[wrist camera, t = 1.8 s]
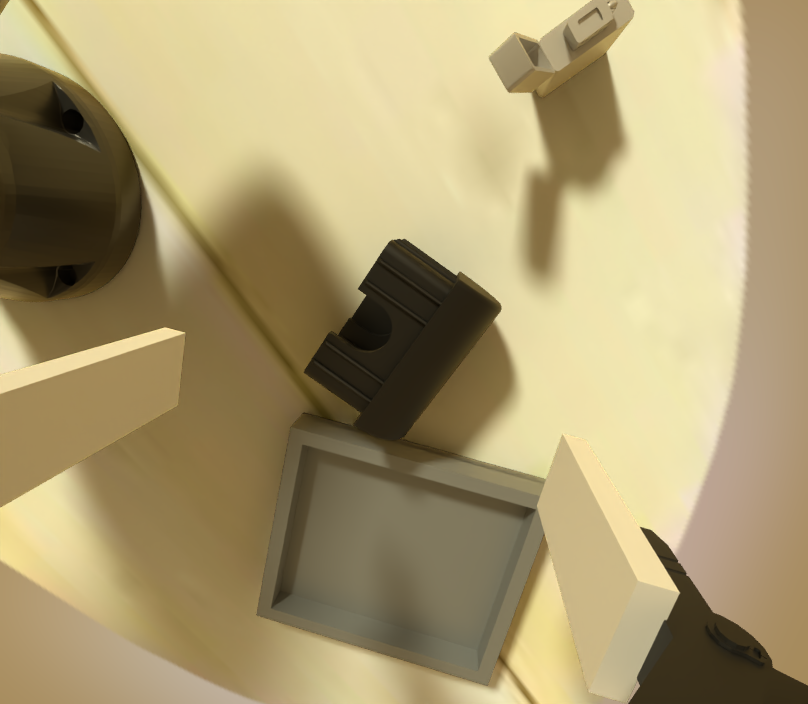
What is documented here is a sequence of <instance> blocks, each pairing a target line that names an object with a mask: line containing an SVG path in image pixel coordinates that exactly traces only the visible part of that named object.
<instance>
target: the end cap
mask: <svg viewBox="0 0 808 704" xmlns="http://www.w3.org/2000/svg"><path fill="white" fill-rule="evenodd" d="M358 289H359V290H360V291H361V292H363V293H364V294H366V297H365V298H364V300H363V301H362V303H361V304H360V306H359V307H358V309H357V310H356V312H355V313H354V315H353V316H352V318H349V319H348V321H347V322H346V324H345V325H344V327H343V328H342V330H341V331H340V333H339V334H338V335H337V334H335V333H334V332H332V331H331V332H329V334H328V335H327V337H326V338H325V340H324V341H323V343H322V344H321V346H320V347H319V349H318V350H317V352H316V354H315V355H314V357H313V358H312V360H311V361H310V363H309V364H308V366H307V367H306V369H305V371H304V373H305V374H307V375H308V376H309V377H311V378H312V379H314V380H315V381H317V382H318V383H319V384H321V385H322V386H324V387H325V388H327V389H328V390H329V391H331V392H332V393H334V394H335V395H337V396H338V397H340V398H341V399H342V400H344V401H345V402H347V403H348V404H350V405H351V406H352V407H354V408H355V409H357V410H358V411H360V412H361V413H360V415H359V417H358V418H357V420H356V422H355V423H354V426H356V427H357V428H359V429H360V430H362V431H364V432H366V433H368V434H370V435H372V436H375V437H377V438H381V439H385V440H397V439H400V438H402V437H403V436H405V435H406V433H407V432H408V431H409V429H410V428H411V427H412V425H413V424H414V423H415V422H416V420H417V419H418V418H419V416H420V415H421V414H422V413H423V411H424V410H425V409H426V407H427V406H428V405H429V403H430V402H431V401H432V400H433V398H434V397H435V396H436V394H437V393H438V392H439V390H440V389H441V388H442V387H443V385H444V384H445V383H446V381H447V380H448V379H449V377H450V376H451V375H452V374H453V372H454V371H455V370H456V368H457V367H458V366H459V365H460V363H461V362H462V361H463V359H464V358H465V357H466V355H467V354H468V353H469V352H470V350H471V349H472V348H473V346H474V345H475V344H476V342H477V341H478V340H479V339H480V337H481V336H482V335H483V333H484V332H485V331H486V329H487V328H488V327H489V326H490V324H491V323H492V322H493V320H494V319H495V318H496V316H497V315H498V314H499V313H500V311H501V304H500V303H499V302H498V301H497V300H496V299H495V298H494V297H493V296H492V295H490V294H489V293H488V292H487V291H485V290H484V289H483V288H482V287H480V286H479V285H478V284H476V283H475V282H474V281H473V280H471V279H470V278H469V277H467V276H466V275H464V274H463V273H462V272H459V273H458V275H457V276H456V275H455V274H453V273H452V272H450V271H449V270H448V269H446V268H445V267H443V266H442V265H441V264H439V263H438V262H436V261H435V260H434V259H432V258H431V257H429V256H428V255H427V254H425V253H424V252H423V251H421V250H420V249H418V248H417V247H416V246H414V245H413V244H411V243H410V242H409V241H407V240H406V239H403V240H401V239H397V240H391V241H390V242H389V243H388V244H387V246H386V247H385V248H384V250H383V251H382V253H381V254H380V256H379V257H378V259H377V261H376V262H375V264H374V265H373V267H372V268H371V270H370V271H369V273H368V274H367V276H366V277H365V279H364V280H363V282H362V283H361V285H360V286H359V288H358Z"/></svg>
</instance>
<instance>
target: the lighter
mask: <svg viewBox="0 0 808 704" xmlns="http://www.w3.org/2000/svg"><path fill="white" fill-rule="evenodd" d="M633 15H634V10H633V9H632V7H631V5H630V3H629V1H628V0H592V1H590V2H589V3H588V4H586V5H585V6H584V7H582V8H581V9H580V10H578V11H577V12H575V13H574V14H573V15H571V16H570V17H569V18H567V19H566V20H565V21H563V22H562V23H561V24H559V25H558V26H557V27H555V28H554V29H553V30H551V31H550V32H549V33H547V34H546V35H545V36H543V37H542V38H541V39H540V42H538V41H537V40H535V39H533V38H530V37H527V36H524V35H521V34H518V33H516V32H514V33H513V34H512V35H511V36H510V37H509V38H508V39H507V40H506V41H505V42H504V43H502V44H501V45H500V46H499V47H498V48H497V49H496V50H495V51H494V52H493V53H492V54H491V55H490V56H489V60H490V62H491V63H492V65H493V67H494V69H495V70H496V72H497V74H498V76H499V77H500V79H501V81H502V83H503V84H504V86H505V88H506V89H507V91H508V92H509V93H532V92H533V91H534V90H536V92H537V94H538V96H539V97H543V98H544V97H545V96H546V95H548V94H549V93H551V92H552V91H553V90H555V89H556V88H558V87H559V86H560V85H562V84H563V83H565V82H566V81H567V80H569V79H570V78H572V77H573V76H575V75H576V74H577V73H579V72H580V71H582V70H583V69H584V68H586V67H587V66H589V65H590V64H591V63H593V62H594V61H596V60H597V59H598V58H600V57H601V56H603V55H604V54H605V53H606V52H607V50H608V49H609V48H610V47H611V45H612V44H613V43H614V41H615V40H616V39H617V38H618V36H619V35H620V34H621V32H622V31H623V30H624V29H625V27H626V26H627V25H628V24H629V22H630V21H631V20H632V18H633Z"/></svg>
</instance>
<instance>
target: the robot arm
mask: <svg viewBox="0 0 808 704" xmlns="http://www.w3.org/2000/svg"><path fill="white" fill-rule="evenodd" d="M8 2H9V0H0V14H1V13H2V11H3V9H4V8H5V6H6V5H7V3H8ZM140 216H141V194H140V185H139V179H138V174H137V170H136V167H135V163H134V160H133V157H132V154H131V152H130V149H129V147H128V145H127V142H126V140H125V138H124V136H123V134H122V133H121V131H120V129H119V128H118V126H117V124H116V123H115V121H114V120H113V118H112V117H111V116H110V115H109V113H108V112H107V111H106V109H105V108H104V107H103V106H102V105H101V104H100V103H99V102H98V101H97V100H96V99H95V98H94V97H93V96H92V95H91V94H90V93H89V92H88V91H86V90H85V89H84V88H83V87H81V86H80V85H78V84H77V83H75V82H74V81H72V80H71V79H69V78H67V77H65V76H63V75H61V74H59V73H57V72H55V71H52V70H50V69H47V68H45V67H42V66H40V65H38V64H35V63H33V62H30V61H27V60H25V59H22V58H18V57H15V56H11V55H6V54H1V53H0V298H5V299H11V300H16V301H24V302H46V301H54V300H61V299H68V298H74V297H79V296H82V295H86V294H88V293H91V292H93V291H95V290H97V289H99V288H100V287H102V286H103V285H105V284H106V283H107V282H109V281H110V280H111V279H112V278H113V277H114V276H115V275H116V274H117V273H118V272H119V271H120V269H121V268H122V267H123V265H124V264H125V262H126V261H127V259H128V257H129V255H130V253H131V251H132V249H133V247H134V244H135V241H136V238H137V234H138V229H139V224H140ZM185 336H186V333H185V332H181V331H177V330H173V329H170V328H166V327H165V328H161V329H158V330H154V331H151V332H147V333H144V334H140V335H137V336H133V337H130V338H126V339H123V340H119V341H116V342H112V343H109V344H105V345H102V346H98V347H95V348H91V349H88V350H84V351H81V352H78V353H74V354H71V355H67V356H64V357H60V358H57V359H53V360H50V361H46V362H43V363H39V364H36V365H32V366H29V367H25V368H22V369H18V370H15V371H11V372H8V373H4V374H1V375H0V507H2V506H4V505H5V504H7V503H9V502H11V501H12V500H14V499H16V498H18V497H19V496H21V495H23V494H25V493H26V492H28V491H30V490H32V489H33V488H35V487H37V486H39V485H40V484H42V483H44V482H46V481H47V480H49V479H51V478H53V477H54V476H56V475H58V474H60V473H61V472H63V471H65V470H66V469H68V468H70V467H72V466H73V465H75V464H77V463H79V462H80V461H82V460H84V459H86V458H87V457H89V456H91V455H93V454H94V453H96V452H98V451H100V450H101V449H103V448H105V447H107V446H108V445H110V444H112V443H114V442H115V441H117V440H119V439H121V438H122V437H124V436H126V435H127V434H129V433H131V432H133V431H134V430H136V429H138V428H140V427H141V426H143V425H145V424H147V423H148V422H150V421H152V420H154V419H155V418H157V417H159V416H161V415H162V414H164V413H166V412H168V411H169V410H171V409H173V408H175V407H176V406H178V401H179V392H180V383H181V373H182V364H183V355H184V346H185ZM537 508H538V512H539V515H540V519H541V523H542V526H543V530H544V534H545V537H546V541H547V544H548V548H549V552H550V555H551V559H552V563H553V566H554V570H555V573H556V577H557V581H558V584H559V588H560V592H561V595H562V599H563V602H564V606H565V610H566V613H567V617H568V621H569V624H570V628H571V631H572V635H573V639H574V642H575V646H576V650H577V653H578V657H579V661H580V664H581V668H582V671H583V675H584V679H585V682H586V686H587V690H588V692H589V693H592V694H596V695H599V696H602V697H606V698H609V699H613V700H615V701H619V702H622V703H625V704H627V702H628V700H629V697H630V695H631V693H632V691H633V689H634V687H635V685H636V683H637V681H638V682H639V684H640V687H639V689H638V690H637V692H636V693H635V694H634V696H633V698H632V699H631V700H630V702H629V703H628V704H808V686H807V685H806V684H804V683H801V682H799V681H798V680H795V679H793V678H791V677H789V676H787V675H785V674H783V673H781V672H779V671H777V670H776V669H774V668H773V666H772V660H771V658H770V657H769V655H768V653H767V652H766V650H765V649H764V648H763V646H762V645H761V644H760V643H759V642H758V641H757V640H755V638H754V637H753V636H752V635H750V634H749V633H748V632H746V631H745V630H744V629H742V628H741V627H740V626H739V625H737V624H735V623H734V622H732V621H730V620H728V619H726V618H724V617H723V616H721V615H718V614H715V613H713V612H712V610H711V609H710V607H709V606H708V604H707V603H706V601H705V600H704V599H703V597H702V596H701V594H700V593H699V591H698V589H697V588H696V587H695V585H694V584H693V582H692V581H691V579H690V578H689V577H688V576H686V572H685V570H684V569H683V567H682V566H681V564H679V563H678V560H677V558H676V557H675V555H674V554H673V552H672V551H671V549H670V548H669V546H668V545H667V544H666V543H665V542H664V541H663V540H661V539H660V538H659V537H658V536H657V535H656V534H655V533H654V532H653V531H652V530H649V529H645V528H642V527H639V525H638V524H637V522H636V521H635V519H634V517H633V516H632V514H631V512H630V511H629V509H628V507H627V506H626V504H625V503H624V501H623V499H622V498H621V496H620V494H619V493H618V491H617V490H616V488H615V486H614V485H613V483H612V481H611V480H610V478H609V477H608V475H607V473H606V472H605V470H604V468H603V467H602V465H601V464H600V462H599V460H598V459H597V457H596V455H595V454H594V452H593V451H592V449H591V447H590V446H589V444H588V442H587V441H586V440H585V439H581V438H577V437H573V436H570V435H566V434H562V437H561V439H560V442H559V445H558V448H557V451H556V453H555V456H554V459H553V462H552V465H551V467H550V470H549V473H548V476H547V479H546V481H545V484H544V487H543V490H542V493H541V495H540V498H539V501H538V504H537Z"/></svg>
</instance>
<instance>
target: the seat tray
mask: <svg viewBox="0 0 808 704" xmlns="http://www.w3.org/2000/svg"><path fill="white" fill-rule="evenodd" d="M545 481H546V479H543V478H540V477H536V476H532V475H529V474H525V473H521V472H518V471H514V470H510V469H507V468H503V467H500V466H496V465H492V464H489V463H485V462H481V461H478V460H474V459H470V458H467V457H463V456H459V455H456V454H452V453H449V452H445V451H441V450H438V449H434V448H430V447H427V446H423V445H419V444H416V443H412V442H408V441H405V440H401V439H397V440H385V439H381V438H377V437H375V436H372V435H370V434H368V433H366V432H364V431H362V430H360V429H359V428H357V427H354V426H350V425H346V424H343V423H339V422H336V421H332V420H328V419H325V418H321V417H317V416H314V415H310V414H306V413H303V414H302V415H301V416H300V417H299V419H298V420H297V421H296V422H295V423H294V424H293V425H292V426H291V428H290V433H289V439H288V444H287V450H286V455H285V461H284V466H283V472H282V477H281V483H280V488H279V494H278V499H277V505H276V510H275V516H274V521H273V527H272V532H271V537H270V543H269V548H268V554H267V559H266V565H265V570H264V576H263V581H262V587H261V592H260V598H259V603H258V609H257V614H256V615H257V616H260V617H264V618H267V619H270V620H274V621H277V622H280V623H283V624H287V625H290V626H293V627H296V628H300V629H303V630H306V631H310V632H313V633H316V634H319V635H323V636H326V637H329V638H332V639H336V640H339V641H342V642H346V643H349V644H352V645H355V646H359V647H362V648H365V649H368V650H372V651H375V652H378V653H382V654H385V655H388V656H391V657H395V658H398V659H401V660H404V661H408V662H411V663H414V664H418V665H421V666H424V667H427V668H431V669H434V670H437V671H440V672H444V673H447V674H450V675H454V676H457V677H460V678H463V679H467V680H470V681H473V682H476V683H480V684H483V685H486V686H488V683H489V681H490V678H491V675H492V673H493V670H494V667H495V665H496V662H497V659H498V656H499V654H500V651H501V648H502V646H503V643H504V640H505V638H506V635H507V632H508V630H509V627H510V624H511V622H512V619H513V616H514V613H515V611H516V608H517V605H518V603H519V600H520V597H521V595H522V592H523V589H524V587H525V584H526V581H527V579H528V576H529V573H530V570H531V568H532V565H533V562H534V560H535V557H536V554H537V552H538V549H539V546H540V544H541V541H542V538H543V536H544V530H543V526H542V523H541V519H540V515H539V512H538V508H537V504H538V501H539V498H540V495H541V493H542V490H543V487H544V484H545Z"/></svg>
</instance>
